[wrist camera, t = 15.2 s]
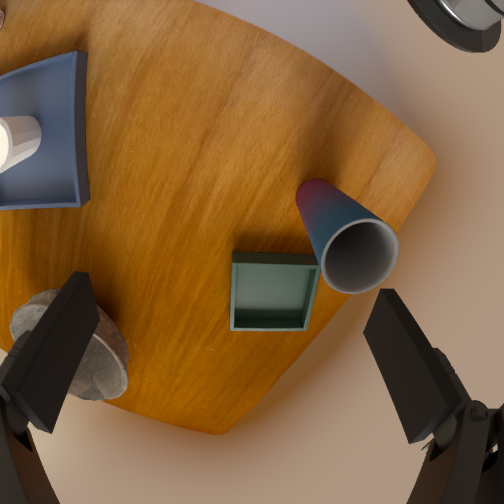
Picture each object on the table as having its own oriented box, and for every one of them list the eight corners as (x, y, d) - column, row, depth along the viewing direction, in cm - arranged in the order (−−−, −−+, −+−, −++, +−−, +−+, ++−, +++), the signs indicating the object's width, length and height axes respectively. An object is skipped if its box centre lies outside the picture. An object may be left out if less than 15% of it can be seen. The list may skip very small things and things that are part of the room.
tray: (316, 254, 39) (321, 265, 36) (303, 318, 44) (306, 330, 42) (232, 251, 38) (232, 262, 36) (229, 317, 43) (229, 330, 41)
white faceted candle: (47, 111, 27) (14, 116, 20) (43, 162, 30) (11, 177, 23) (12, 111, 25) (-21, 118, 19) (9, 159, 28) (-22, 172, 22)
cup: (311, 160, 33) (362, 200, 20) (352, 193, 35) (412, 248, 22) (277, 204, 35) (303, 269, 22) (318, 233, 37) (359, 305, 24)
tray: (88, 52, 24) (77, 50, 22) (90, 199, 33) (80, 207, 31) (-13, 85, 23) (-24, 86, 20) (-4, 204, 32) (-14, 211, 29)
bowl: (41, 243, 36) (5, 279, 27) (158, 301, 41) (143, 351, 32) (35, 328, 44) (13, 364, 35) (126, 373, 49) (115, 415, 40)
